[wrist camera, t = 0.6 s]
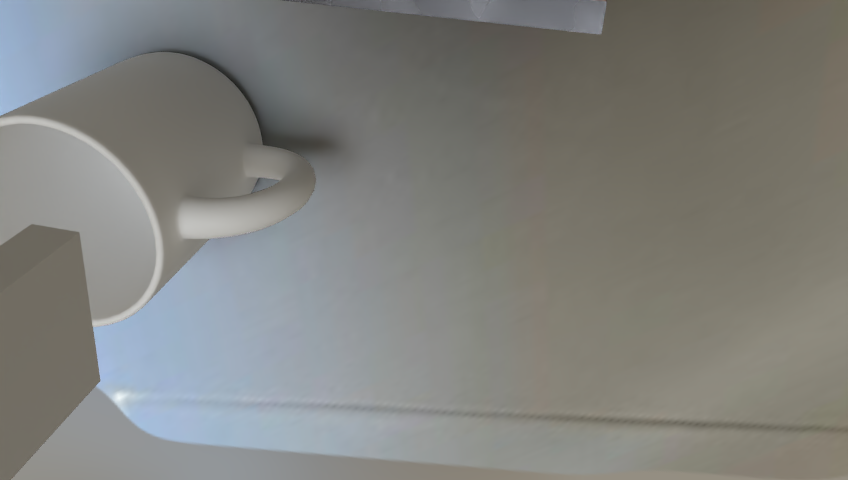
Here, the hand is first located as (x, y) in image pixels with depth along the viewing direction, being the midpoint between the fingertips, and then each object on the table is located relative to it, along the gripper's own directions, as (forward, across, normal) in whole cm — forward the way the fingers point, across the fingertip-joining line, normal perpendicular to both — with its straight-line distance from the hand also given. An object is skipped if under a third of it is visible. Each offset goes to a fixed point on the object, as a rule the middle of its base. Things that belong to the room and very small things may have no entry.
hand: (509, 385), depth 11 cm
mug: (+23, -15, -7) cm, 28 cm away
